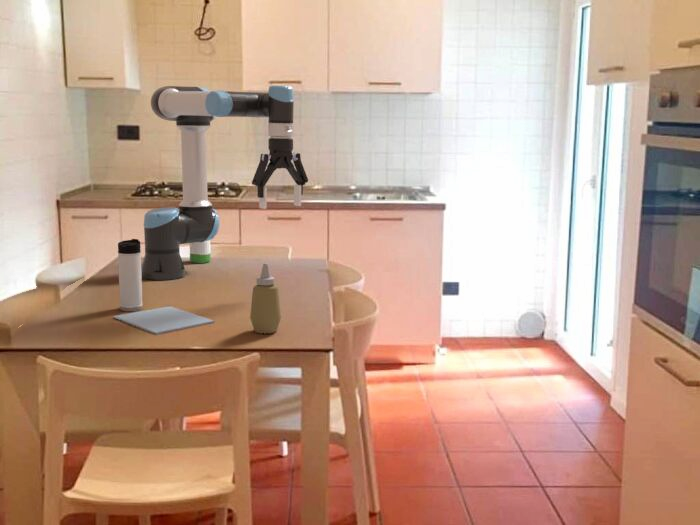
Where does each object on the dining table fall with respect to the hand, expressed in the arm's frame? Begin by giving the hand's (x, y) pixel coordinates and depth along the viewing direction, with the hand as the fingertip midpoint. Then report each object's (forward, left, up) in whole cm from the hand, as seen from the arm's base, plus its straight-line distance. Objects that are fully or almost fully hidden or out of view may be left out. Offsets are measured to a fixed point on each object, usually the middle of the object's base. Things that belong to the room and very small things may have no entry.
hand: (280, 207), depth 245 cm
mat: (+3, -44, -28) cm, 52 cm away
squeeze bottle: (+30, -30, -28) cm, 51 cm away
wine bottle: (-63, +13, -28) cm, 70 cm away
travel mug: (-14, -44, -28) cm, 54 cm away
